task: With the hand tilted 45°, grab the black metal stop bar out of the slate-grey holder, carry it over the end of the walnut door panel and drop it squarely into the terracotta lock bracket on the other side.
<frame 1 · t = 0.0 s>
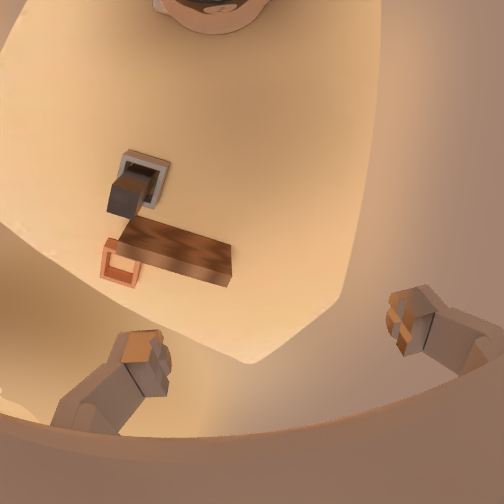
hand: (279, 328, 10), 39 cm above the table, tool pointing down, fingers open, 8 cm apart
door panel: (180, 235, 51), on the table
lock bracket: (123, 259, 52), on the table
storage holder: (143, 176, 45), on the table
stop bar: (134, 187, 40), in the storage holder
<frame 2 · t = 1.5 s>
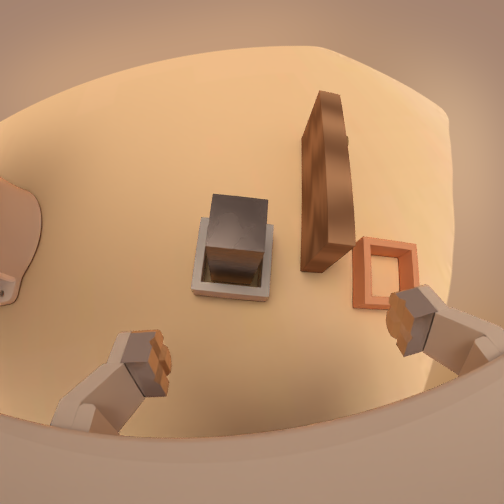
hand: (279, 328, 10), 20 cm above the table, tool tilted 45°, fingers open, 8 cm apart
door panel: (311, 197, 34), on the table
lock bracket: (380, 278, 32), on the table
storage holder: (232, 264, 31), on the table
stop bar: (234, 247, 26), in the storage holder
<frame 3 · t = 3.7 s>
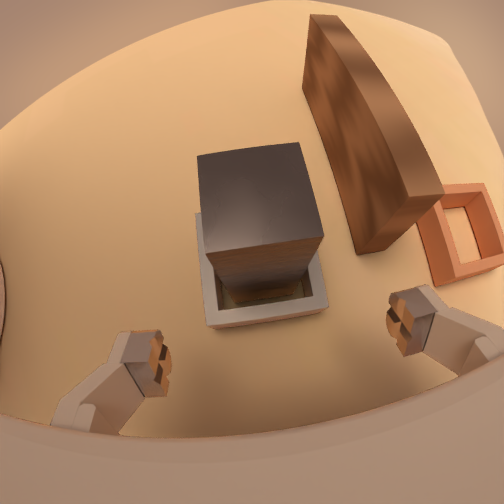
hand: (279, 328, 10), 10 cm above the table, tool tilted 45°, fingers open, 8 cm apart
door panel: (340, 153, 24), on the table
lock bracket: (454, 238, 21), on the table
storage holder: (259, 270, 21), on the table
stop bar: (258, 244, 16), in the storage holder
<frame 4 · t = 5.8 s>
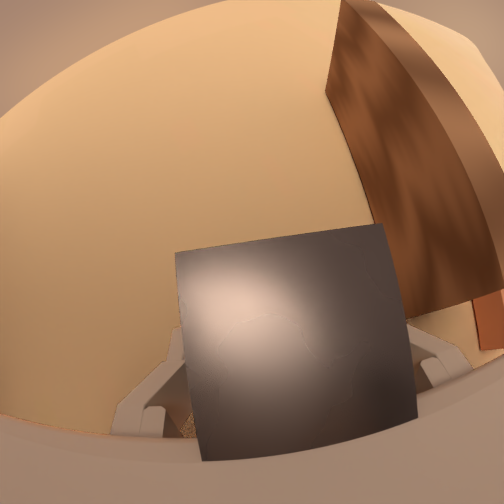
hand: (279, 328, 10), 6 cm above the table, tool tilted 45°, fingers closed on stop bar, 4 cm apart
door panel: (378, 181, 18), on the table
lock bracket: (503, 287, 15), on the table
stop bar: (282, 347, 10), in the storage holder, touching gripper
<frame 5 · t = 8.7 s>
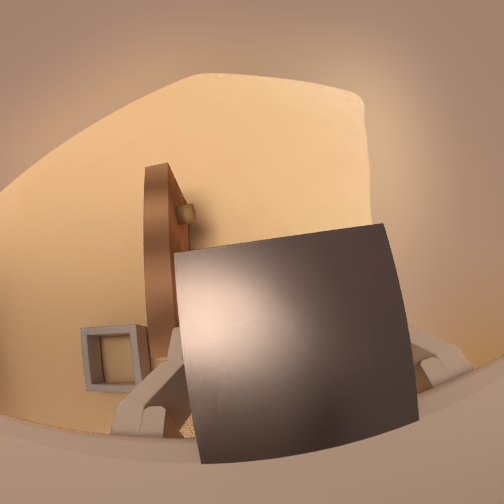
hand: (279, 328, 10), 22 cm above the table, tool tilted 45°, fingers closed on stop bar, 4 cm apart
door panel: (181, 275, 33), on the table
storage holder: (121, 359, 30), on the table
stop bar: (282, 347, 10), point 22 cm above the table, touching gripper
when the fingers open (7 cm above the table, at t = 11.8 s): stop bar drops 2 cm, resting in lock bracket.
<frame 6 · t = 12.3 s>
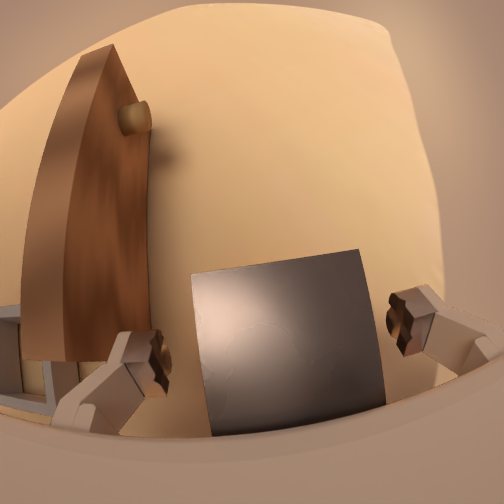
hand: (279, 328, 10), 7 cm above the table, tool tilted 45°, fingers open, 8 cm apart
door panel: (130, 225, 19), on the table
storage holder: (41, 359, 17), on the table
stop bar: (278, 347, 11), in the lock bracket
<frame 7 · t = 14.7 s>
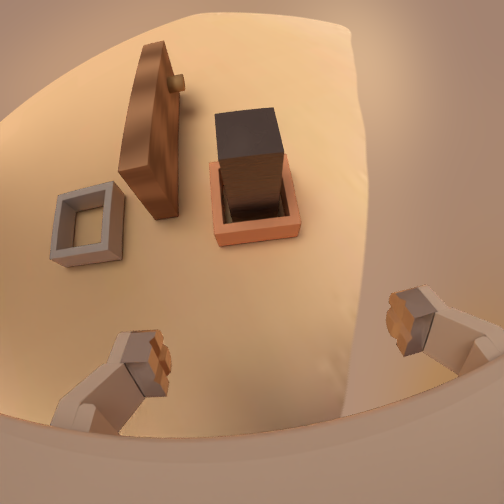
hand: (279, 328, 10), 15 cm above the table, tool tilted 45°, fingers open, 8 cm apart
door panel: (167, 146, 31), on the table
lock bracket: (253, 206, 28), on the table
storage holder: (93, 230, 28), on the table
stop bar: (250, 176, 23), in the lock bracket
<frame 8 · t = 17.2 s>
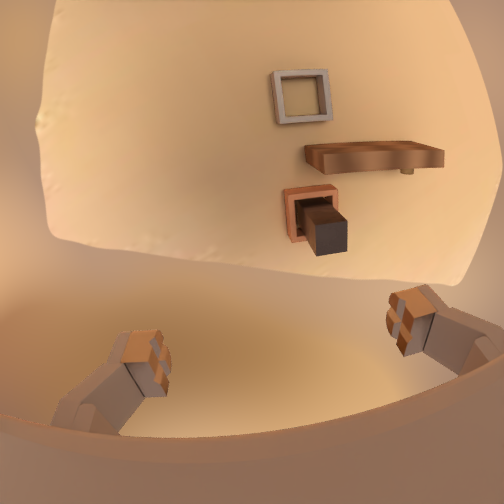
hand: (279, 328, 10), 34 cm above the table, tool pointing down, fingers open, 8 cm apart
door panel: (362, 149, 40), on the table
lock bracket: (309, 209, 44), on the table
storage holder: (299, 96, 37), on the table
stop bar: (319, 222, 39), in the lock bracket
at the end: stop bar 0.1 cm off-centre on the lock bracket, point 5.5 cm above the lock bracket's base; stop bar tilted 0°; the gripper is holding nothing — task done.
